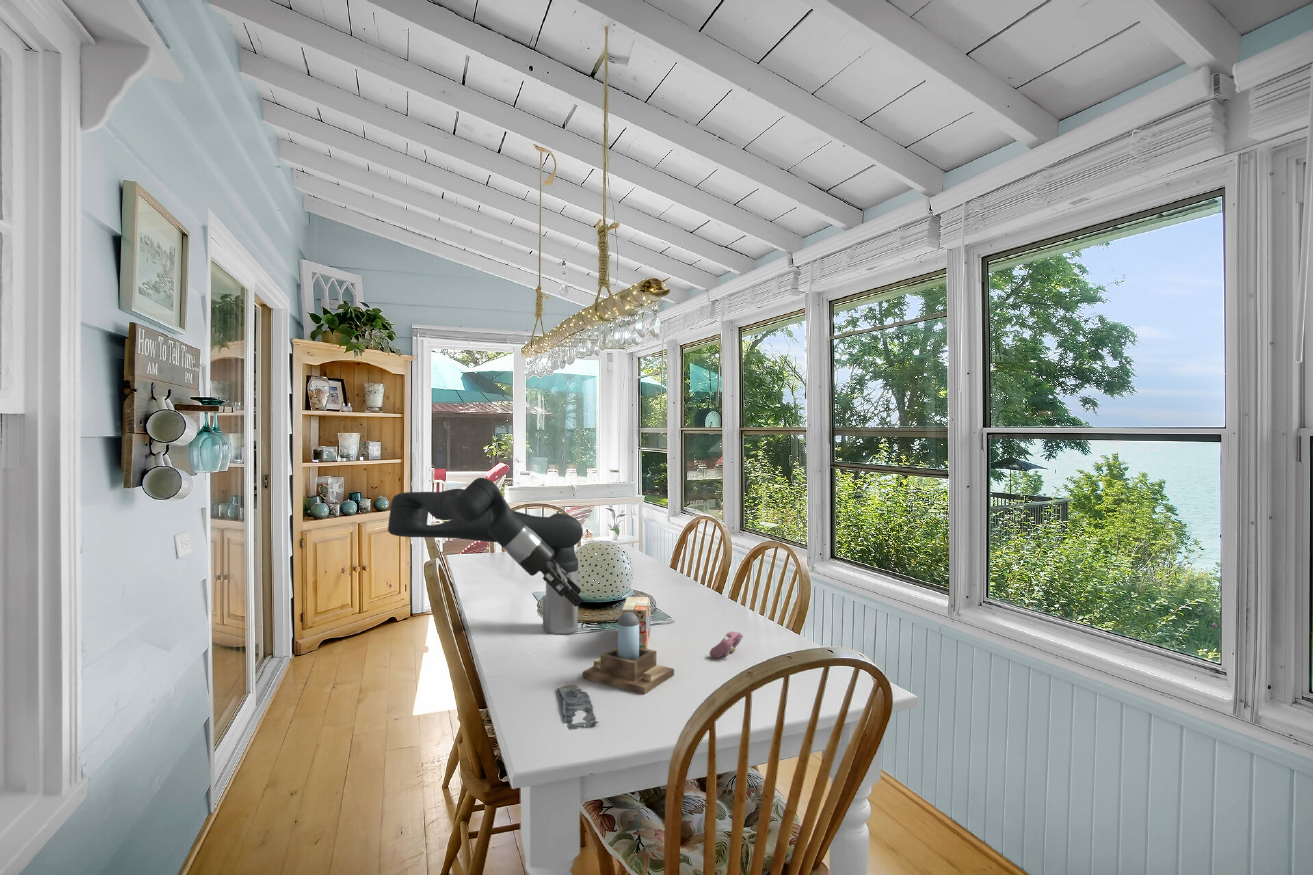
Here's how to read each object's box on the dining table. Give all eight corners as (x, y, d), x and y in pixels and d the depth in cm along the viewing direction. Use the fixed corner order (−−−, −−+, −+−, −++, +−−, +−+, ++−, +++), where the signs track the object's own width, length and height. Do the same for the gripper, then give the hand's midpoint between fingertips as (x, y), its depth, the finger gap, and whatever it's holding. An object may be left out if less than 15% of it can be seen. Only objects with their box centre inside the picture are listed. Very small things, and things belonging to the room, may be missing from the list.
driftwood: (556, 689, 142) (556, 680, 142) (587, 687, 144) (587, 677, 144) (563, 733, 122) (563, 722, 122) (598, 730, 124) (598, 719, 124)
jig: (582, 678, 148) (582, 654, 148) (614, 661, 159) (615, 639, 159) (644, 694, 139) (644, 669, 139) (674, 675, 150) (674, 651, 150)
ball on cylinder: (613, 671, 148) (613, 613, 148) (625, 664, 153) (625, 608, 152) (631, 675, 146) (631, 616, 146) (643, 668, 150) (643, 611, 150)
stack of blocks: (628, 630, 184) (629, 588, 184) (650, 631, 184) (650, 588, 184) (621, 656, 163) (621, 608, 163) (646, 657, 162) (646, 608, 162)
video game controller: (721, 666, 160) (733, 643, 159) (707, 655, 162) (718, 632, 161) (737, 654, 169) (748, 632, 167) (723, 644, 171) (734, 622, 169)
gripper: (518, 555, 152) (567, 602, 154) (514, 568, 138) (568, 619, 140) (541, 533, 153) (589, 579, 155) (539, 543, 139) (592, 594, 140)
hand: (579, 598), depth 147 cm, fingers open, 8 cm apart
